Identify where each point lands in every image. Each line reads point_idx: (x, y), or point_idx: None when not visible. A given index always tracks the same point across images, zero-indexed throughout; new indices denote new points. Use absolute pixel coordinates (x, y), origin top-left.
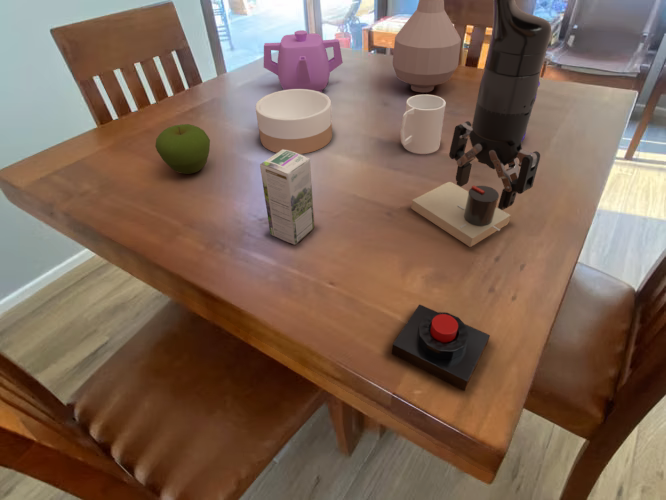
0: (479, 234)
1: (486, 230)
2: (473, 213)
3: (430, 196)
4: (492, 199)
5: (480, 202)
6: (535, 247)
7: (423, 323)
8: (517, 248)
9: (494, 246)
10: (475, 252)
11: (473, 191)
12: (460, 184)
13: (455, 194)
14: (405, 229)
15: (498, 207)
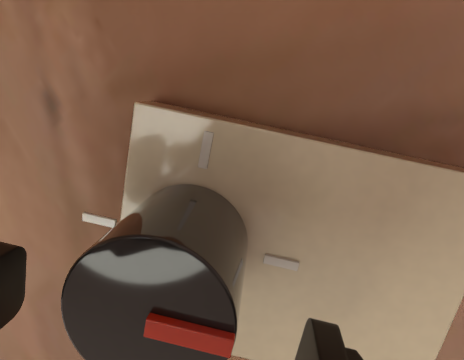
0: (129, 147)
1: (124, 190)
2: (171, 201)
3: (441, 259)
4: (74, 292)
5: (119, 235)
6: (3, 240)
7: None
8: (37, 201)
9: (94, 163)
10: (123, 88)
11: (204, 306)
12: (310, 328)
13: (347, 331)
14: (429, 22)
15: (12, 245)
